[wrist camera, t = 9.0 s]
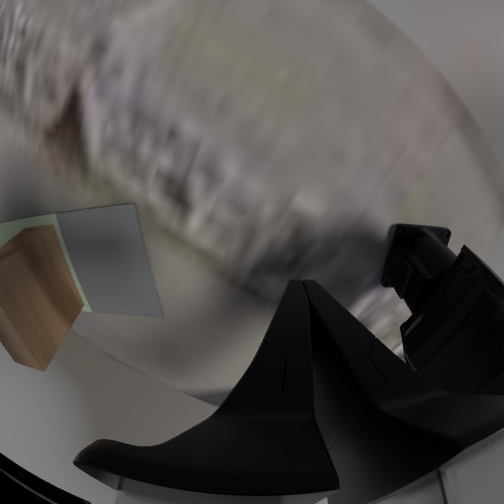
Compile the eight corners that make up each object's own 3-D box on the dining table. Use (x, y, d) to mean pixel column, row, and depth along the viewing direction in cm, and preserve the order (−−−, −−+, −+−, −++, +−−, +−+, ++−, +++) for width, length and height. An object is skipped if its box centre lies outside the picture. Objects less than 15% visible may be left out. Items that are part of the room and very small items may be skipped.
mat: (134, 202, 21) (133, 204, 21) (163, 314, 27) (162, 315, 27) (-17, 226, 22) (-18, 227, 22) (16, 302, 28) (14, 303, 28)
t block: (53, 224, 22) (-11, 283, 13) (84, 305, 27) (44, 371, 18) (-13, 233, 22) (-62, 277, 14) (14, 298, 27) (-22, 346, 19)
